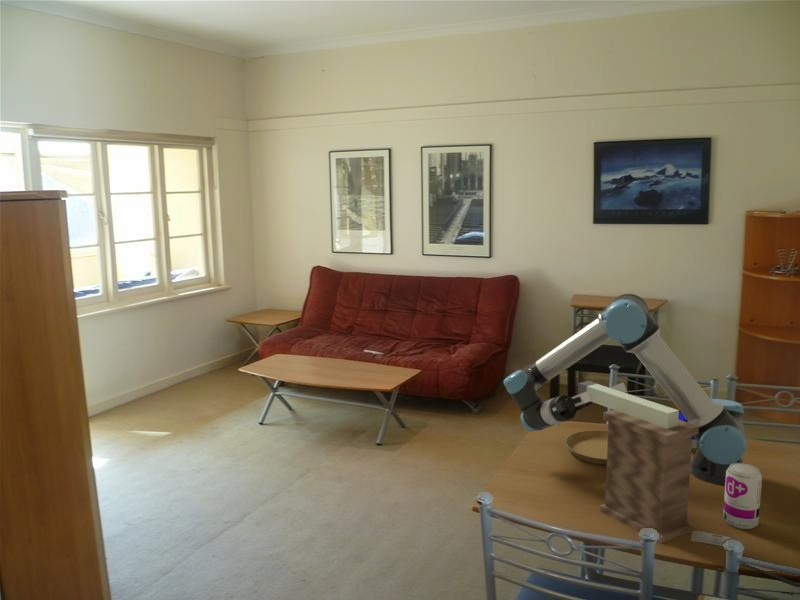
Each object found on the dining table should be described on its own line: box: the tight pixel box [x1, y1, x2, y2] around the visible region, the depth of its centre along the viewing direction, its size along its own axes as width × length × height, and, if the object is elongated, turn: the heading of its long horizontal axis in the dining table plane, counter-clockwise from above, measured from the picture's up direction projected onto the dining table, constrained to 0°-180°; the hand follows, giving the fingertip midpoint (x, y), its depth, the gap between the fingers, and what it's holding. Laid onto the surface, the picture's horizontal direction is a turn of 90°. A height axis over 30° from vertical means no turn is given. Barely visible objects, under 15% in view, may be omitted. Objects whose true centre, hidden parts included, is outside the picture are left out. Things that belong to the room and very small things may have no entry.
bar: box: [577, 380, 679, 429], centre depth 178 cm, size 30×4×4 cm, turn 30°
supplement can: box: [722, 462, 763, 530], centre depth 173 cm, size 8×8×15 cm
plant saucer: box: [565, 429, 608, 466], centre depth 221 cm, size 24×24×3 cm
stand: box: [599, 409, 699, 544], centre depth 174 cm, size 20×12×28 cm, turn 30°
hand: (607, 391), depth 183 cm, fingers open, 13 cm apart
